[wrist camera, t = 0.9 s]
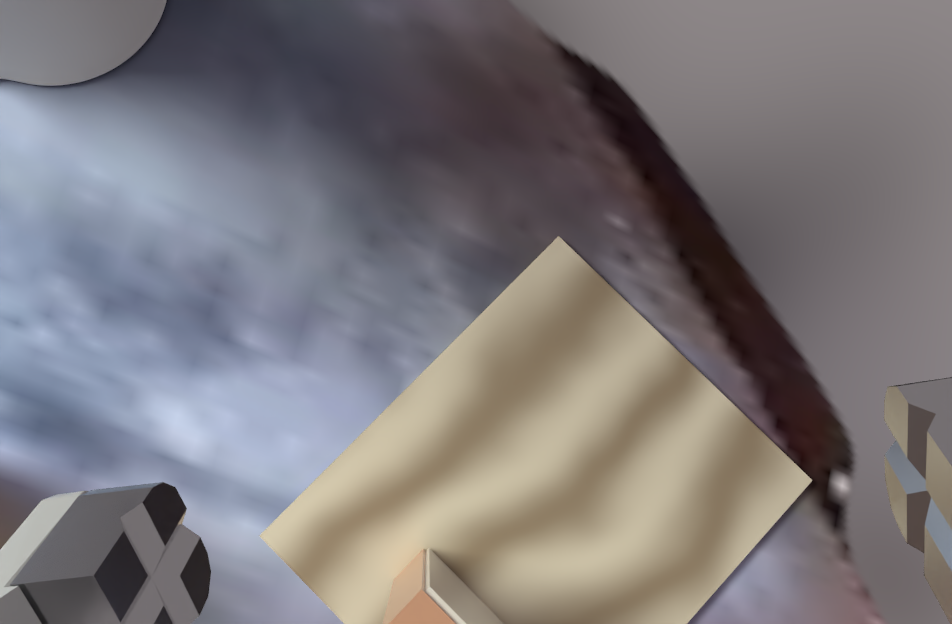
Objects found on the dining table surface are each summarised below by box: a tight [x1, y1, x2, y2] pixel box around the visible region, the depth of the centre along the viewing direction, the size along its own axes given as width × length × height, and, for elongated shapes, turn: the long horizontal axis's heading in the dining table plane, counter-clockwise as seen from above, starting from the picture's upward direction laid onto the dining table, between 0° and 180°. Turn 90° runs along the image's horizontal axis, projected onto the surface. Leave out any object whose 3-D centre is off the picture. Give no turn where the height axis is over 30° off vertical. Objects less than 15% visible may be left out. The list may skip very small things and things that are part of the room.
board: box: [260, 236, 812, 624], centre depth 51 cm, size 22×26×1 cm
